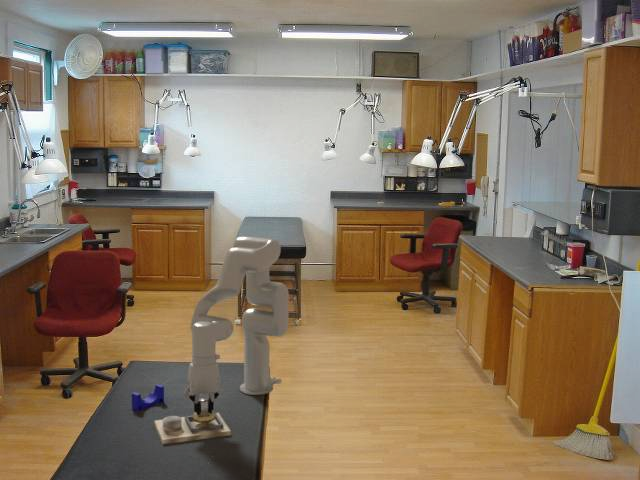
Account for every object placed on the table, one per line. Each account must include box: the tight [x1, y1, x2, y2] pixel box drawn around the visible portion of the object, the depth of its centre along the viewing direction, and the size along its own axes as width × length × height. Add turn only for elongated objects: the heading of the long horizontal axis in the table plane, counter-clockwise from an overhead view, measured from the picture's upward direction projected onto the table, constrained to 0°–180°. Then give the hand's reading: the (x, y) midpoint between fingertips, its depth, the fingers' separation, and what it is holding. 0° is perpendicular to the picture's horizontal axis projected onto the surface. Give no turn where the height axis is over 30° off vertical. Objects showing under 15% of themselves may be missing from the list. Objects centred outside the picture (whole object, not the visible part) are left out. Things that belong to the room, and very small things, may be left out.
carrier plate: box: [153, 412, 232, 445], centre depth 250 cm, size 22×16×4 cm
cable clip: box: [131, 383, 165, 412], centre depth 270 cm, size 12×4×6 cm, turn 142°
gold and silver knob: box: [192, 397, 215, 423], centre depth 250 cm, size 7×7×6 cm
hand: (203, 412), depth 250 cm, fingers closed on gold and silver knob, 3 cm apart
